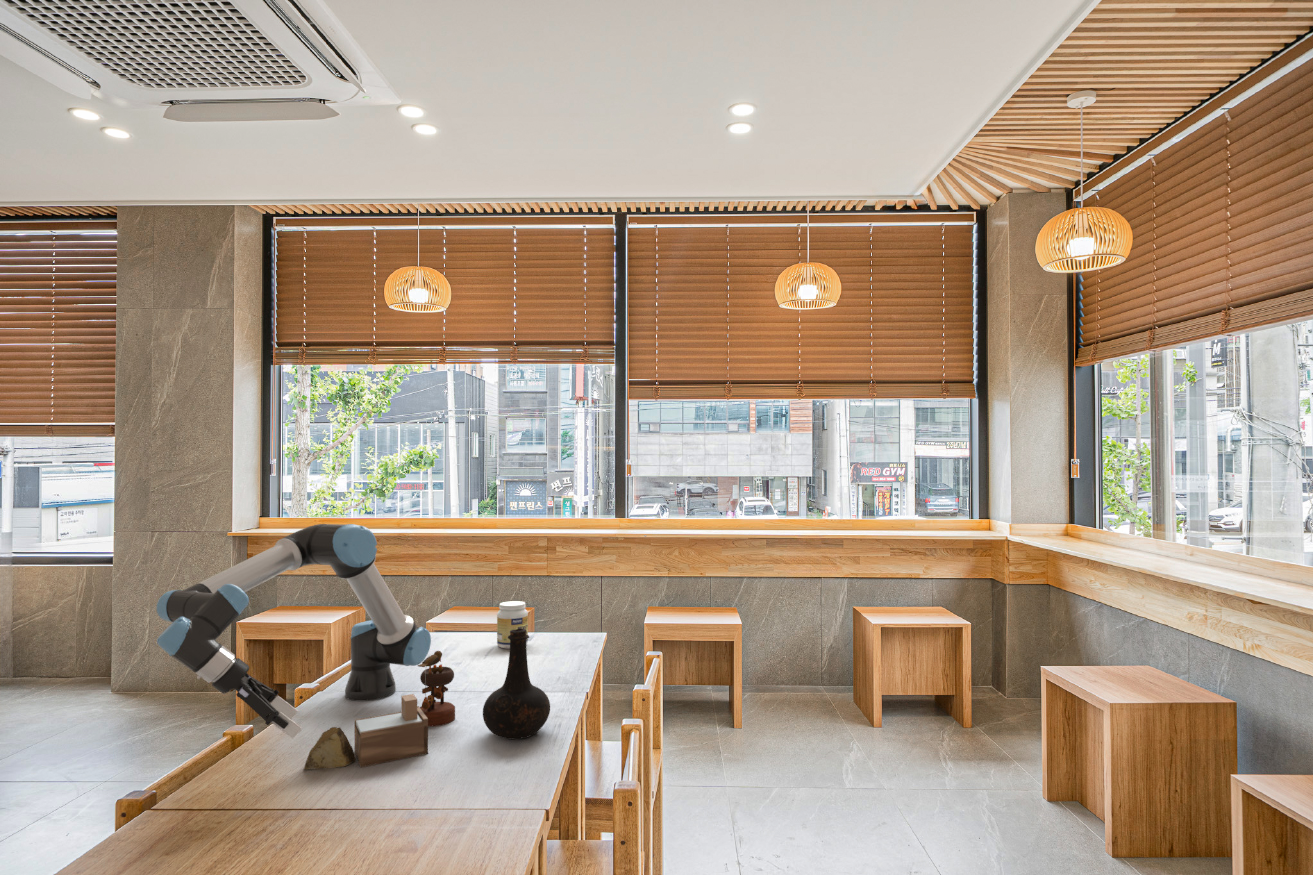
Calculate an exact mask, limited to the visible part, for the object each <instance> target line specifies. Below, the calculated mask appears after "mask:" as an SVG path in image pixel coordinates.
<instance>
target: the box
mask: <svg viewBox="0 0 1313 875" xmlns="http://www.w3.org/2000/svg"><path fill="white" fill-rule="evenodd" d="M420 707H421V706H419V705H417V714H418V715H419V717H420V718H421V720H422V721H420V722H415V723H409V724H404V725H398V726H393V727H387V728H382V729H376V730H371V731H365V732H360V733H359V730H358V728H357V726H356V721H357V720H363V719H369V718H374V717H380V716H386V715H392V714H397V713H401V711H396V712H391V713H386V714H380V715H374V716H368V717H361V718H355V719H354V738H353V739H354V746H353V747H354V749H353V752H354V754H355V758H356V759H357V762H358V764H359V767H360V768H364V767H369V766H375V765H378V764H384V763H390V762H395V761H398V760H404V759H408V758H414V757H418V756H423V755H428V754H429V726H428V718H427V717H426V715H425V714H424V713H423V711H422V710H421V709H420Z"/></svg>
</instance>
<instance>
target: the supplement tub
mask: <svg viewBox="0 0 1313 875" xmlns="http://www.w3.org/2000/svg"><path fill="white" fill-rule="evenodd" d="M526 607H527V605H526V601H521V600H520V601H519V600H512V601H510V600H509V601H504V602H500V603H499V606H498V608H499V610H498V611H497V613H496V644H497V646H498V647H499V648H500V649H508V650H510V640H509V639H508V636H509V635H510V631H511V630H516V629H525V630H526V635H528V636H529V634H528V633H529V613H528V610H527V609H526ZM528 641H529V638H528V639H526V645H527V644H528Z"/></svg>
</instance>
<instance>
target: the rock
mask: <svg viewBox="0 0 1313 875" xmlns="http://www.w3.org/2000/svg"><path fill="white" fill-rule="evenodd" d="M356 759H357V757H356V755H355V752H354V749H353V746H352V744H351V743H350V741H349V740H348V736H347V735H346V734H345V732H344V731H343V730H342V727H337V726H336V727H335V726H333V727H330V728H329V729H327V730H325V731H323V733H322V734H321V736H319V739H317V741H316V743H315V744H314V746H313V747H312V748H311V749H310V751H309V753H308V756H307V758H306V761H305V764H304V768H303V769H304V770H305V771H306V770H321V769H322V770H323V769H334V768H340V767H346V766H349V765H351V764H352V763H354V762H355V761H356Z"/></svg>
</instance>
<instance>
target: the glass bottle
mask: <svg viewBox="0 0 1313 875" xmlns="http://www.w3.org/2000/svg"><path fill="white" fill-rule="evenodd" d="M529 638H530V635H529V634H528V635H526V630H525V629H516V630H511V631H510V635H509V636H508V639H509V640H510V649H509V655H508V664H507V670H506V671H507V672H506V676H505V679H504V683H503V684H502V686H501V687H500V688H497V689H496V690H494V691H493V692H492V693H491V694H489V696H488V697H487V698H486V700H485V702H484V704H483V708H482V718H483V723H484V724H485V726H486V727H487V729H488V730H489V731H490V732H491V733H492V734H494V736H496V737H499V738H502V739H508V740H519V739H525V738H528V737H532V736H533V735H535V734H537V733H538V732H539V731H540V730H541V729H542V728H543V726H544V725H545V724H546V723H547V721H548V718H549V716H550V712H551V703H550V700H549V696H548V695H547V693H546V692H545V691H543V689H541V688H540V687H537V686H535V685H533V684H532V682H531V680H530V676H529V675H530V674H529V667H528V666H529V665H528V654H527V650H528V649H527V644H526V639H528V640H529Z"/></svg>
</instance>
